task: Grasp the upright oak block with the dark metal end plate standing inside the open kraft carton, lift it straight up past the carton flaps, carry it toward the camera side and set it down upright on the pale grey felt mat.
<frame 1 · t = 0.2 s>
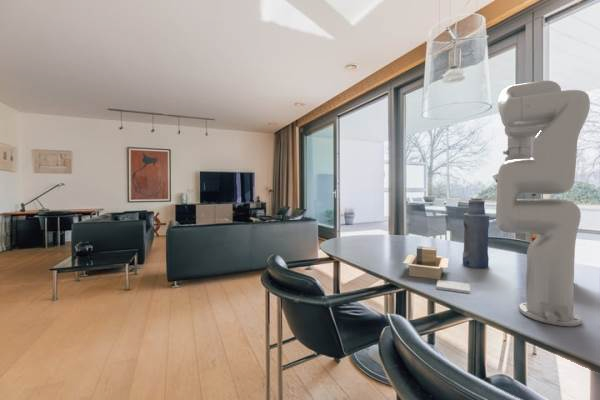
hand: (518, 195, 114), 31 cm above the table, fingers open, 9 cm apart
felt mat: (452, 287, 99), on the table
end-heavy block: (426, 260, 116), in the carton
bottle: (475, 265, 125), on the table
carton: (426, 272, 117), on the table
beverage box: (549, 280, 105), on the table
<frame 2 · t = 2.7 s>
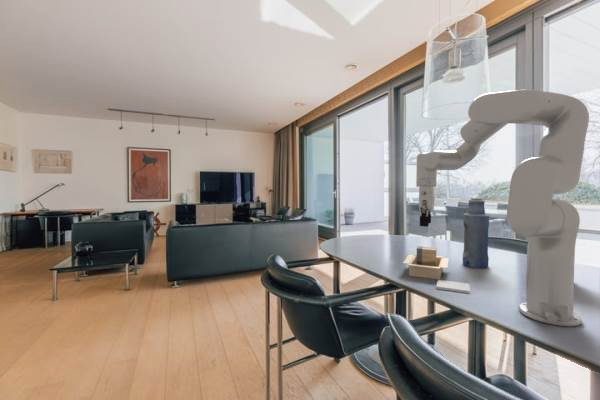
hand: (425, 224, 116), 20 cm above the table, fingers open, 9 cm apart
nothing on the table moved.
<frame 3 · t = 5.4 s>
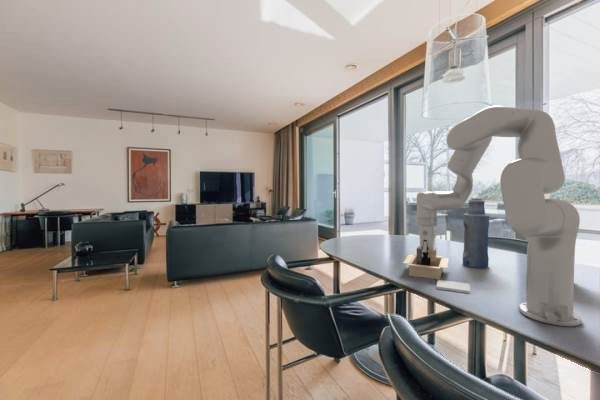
hand: (426, 265, 117), 3 cm above the table, fingers closed on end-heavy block, 4 cm apart
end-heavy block: (426, 259, 117), in the carton, touching gripper
everything else where it was.
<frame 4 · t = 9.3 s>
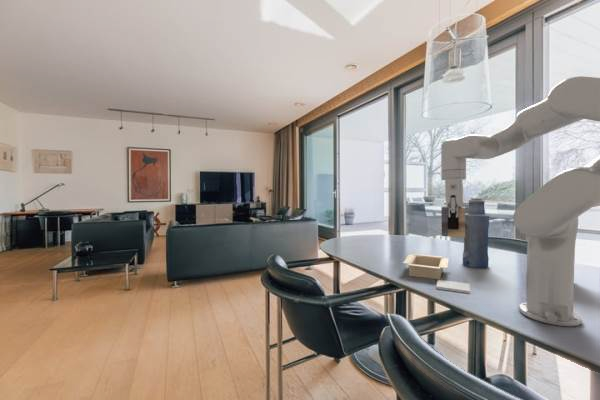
hand: (453, 227, 98), 21 cm above the table, fingers closed on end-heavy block, 4 cm apart
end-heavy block: (453, 221, 98), point 23 cm above the table, touching gripper
everything else where it was.
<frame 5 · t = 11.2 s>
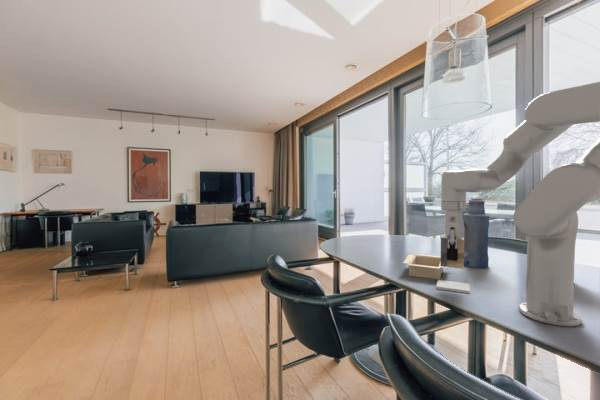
hand: (452, 257, 99), 10 cm above the table, fingers closed on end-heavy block, 4 cm apart
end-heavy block: (452, 251, 98), point 13 cm above the table, touching gripper
everything else where it was.
when the fingers open (4 cm above the table, at t = 13.2 s): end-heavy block stays where it is, resting on felt mat.
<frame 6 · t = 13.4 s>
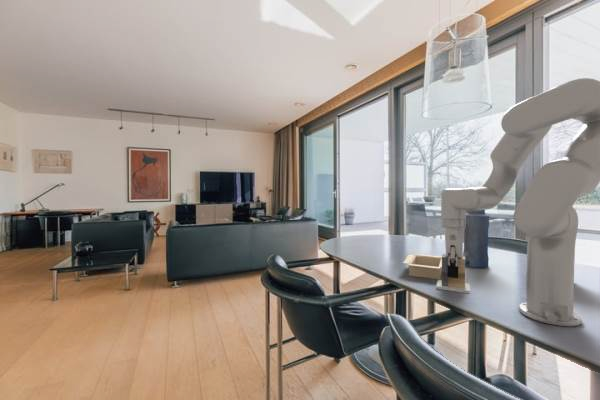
hand: (453, 274, 99), 5 cm above the table, fingers open, 6 cm apart
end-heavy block: (453, 270, 98), on the felt mat, point 6 cm above the table
everything else where it was.
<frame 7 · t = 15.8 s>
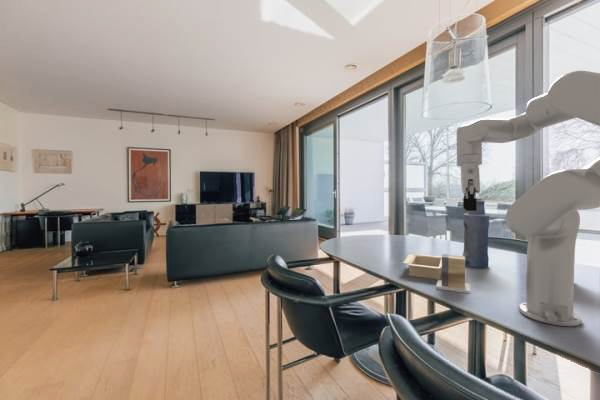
hand: (469, 209, 98), 27 cm above the table, fingers open, 9 cm apart
nothing on the table moved.
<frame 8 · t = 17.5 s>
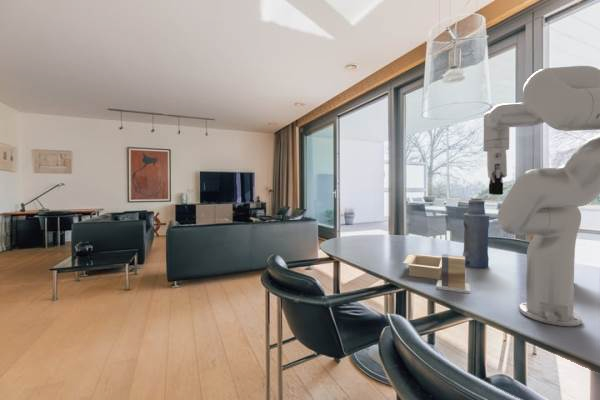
hand: (495, 194, 100), 32 cm above the table, fingers open, 9 cm apart
nothing on the table moved.
at the end: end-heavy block 0.2 cm from the felt mat (horizontally); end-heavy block tilted 0°; the gripper is holding nothing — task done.
